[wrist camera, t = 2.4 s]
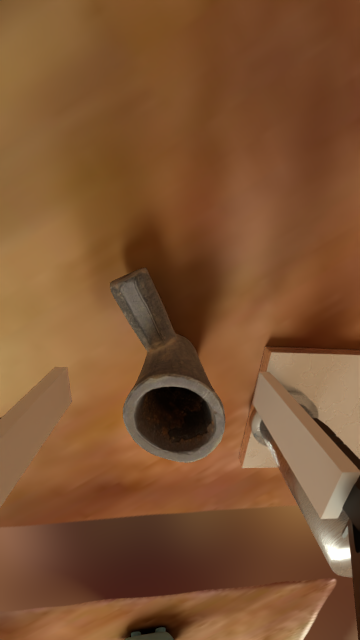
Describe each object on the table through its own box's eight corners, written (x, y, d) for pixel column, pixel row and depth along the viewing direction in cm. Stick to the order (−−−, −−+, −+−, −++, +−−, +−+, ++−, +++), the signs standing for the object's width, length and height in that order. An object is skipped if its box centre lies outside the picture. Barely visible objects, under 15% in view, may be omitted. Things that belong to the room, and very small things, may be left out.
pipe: (163, 258, 16) (159, 260, 8) (213, 375, 20) (241, 448, 12) (98, 287, 16) (38, 314, 9) (161, 395, 20) (157, 478, 13)
